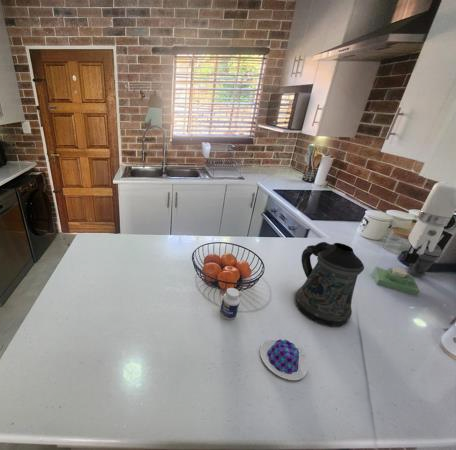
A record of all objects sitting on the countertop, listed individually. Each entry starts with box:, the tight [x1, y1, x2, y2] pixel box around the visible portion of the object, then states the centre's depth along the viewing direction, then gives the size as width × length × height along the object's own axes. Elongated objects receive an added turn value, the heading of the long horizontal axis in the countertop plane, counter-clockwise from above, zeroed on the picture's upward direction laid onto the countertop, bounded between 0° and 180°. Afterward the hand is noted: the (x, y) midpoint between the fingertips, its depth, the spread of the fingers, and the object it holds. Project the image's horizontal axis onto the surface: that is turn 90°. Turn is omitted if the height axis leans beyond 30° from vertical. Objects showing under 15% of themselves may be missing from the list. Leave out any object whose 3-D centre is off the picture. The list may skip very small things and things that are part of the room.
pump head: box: [392, 267, 408, 278], centre depth 97 cm, size 4×4×2 cm
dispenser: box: [371, 266, 421, 297], centre depth 98 cm, size 12×10×6 cm
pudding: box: [259, 339, 308, 381], centre depth 68 cm, size 12×12×5 cm
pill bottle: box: [219, 287, 241, 321], centre depth 81 cm, size 5×5×10 cm
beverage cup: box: [406, 234, 445, 279], centre depth 103 cm, size 7×7×20 cm
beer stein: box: [294, 241, 365, 327], centre depth 82 cm, size 16×19×25 cm
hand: (408, 261), depth 94 cm, fingers closed
